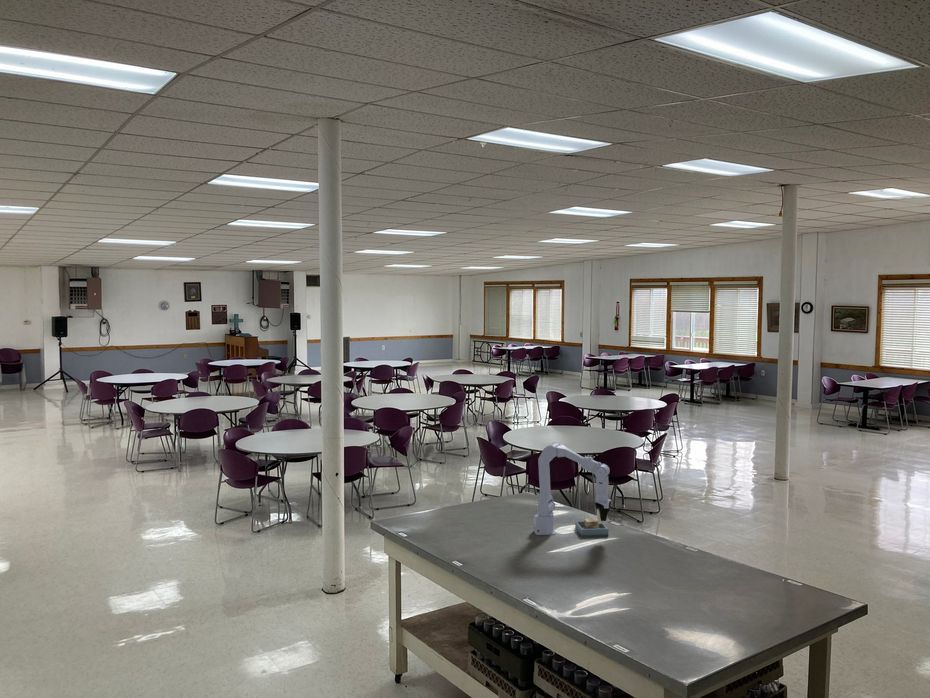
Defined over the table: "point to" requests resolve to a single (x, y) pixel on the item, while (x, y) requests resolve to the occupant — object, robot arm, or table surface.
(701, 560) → the table surface
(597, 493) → the robot arm
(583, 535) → the tote
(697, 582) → the table surface
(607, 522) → the cream carton
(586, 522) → the oak block
